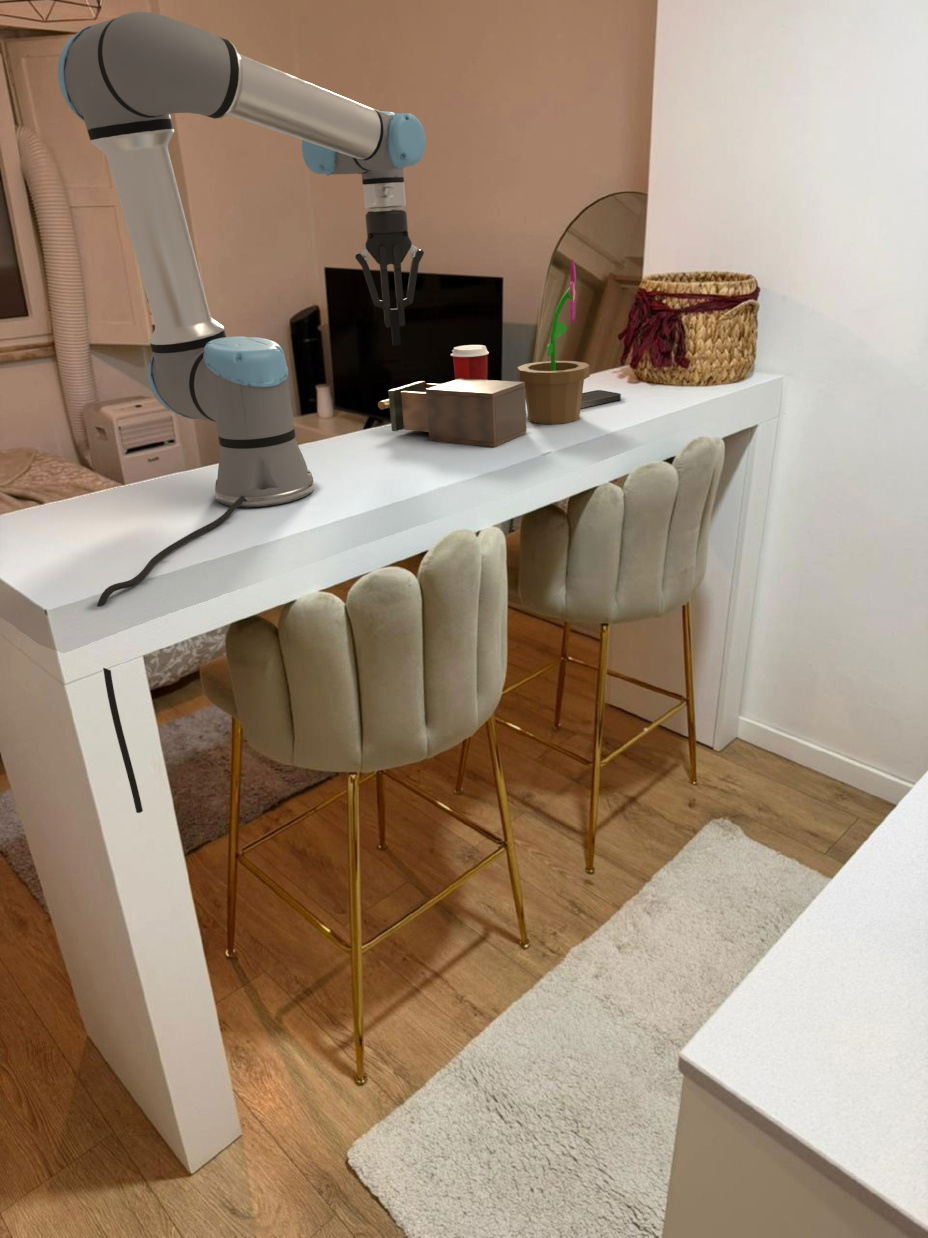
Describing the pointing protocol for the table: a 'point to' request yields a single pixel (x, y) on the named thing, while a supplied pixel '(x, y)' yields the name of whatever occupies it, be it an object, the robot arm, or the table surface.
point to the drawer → (408, 407)
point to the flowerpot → (555, 376)
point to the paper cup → (470, 362)
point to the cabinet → (476, 411)
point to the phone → (598, 398)
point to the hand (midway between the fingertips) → (396, 344)
